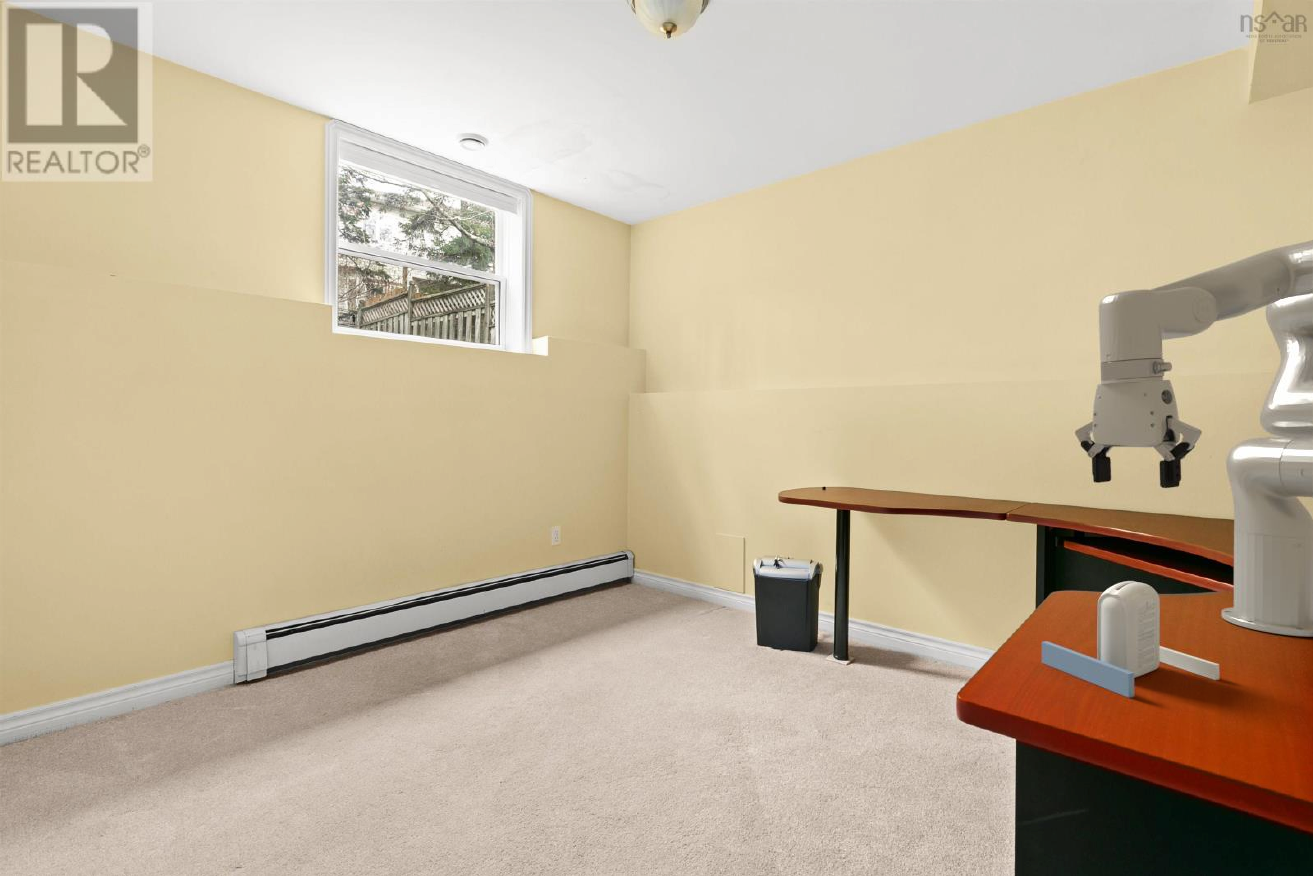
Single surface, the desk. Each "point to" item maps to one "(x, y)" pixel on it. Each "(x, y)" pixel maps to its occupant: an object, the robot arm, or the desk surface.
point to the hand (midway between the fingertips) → (1134, 484)
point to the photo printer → (1129, 627)
